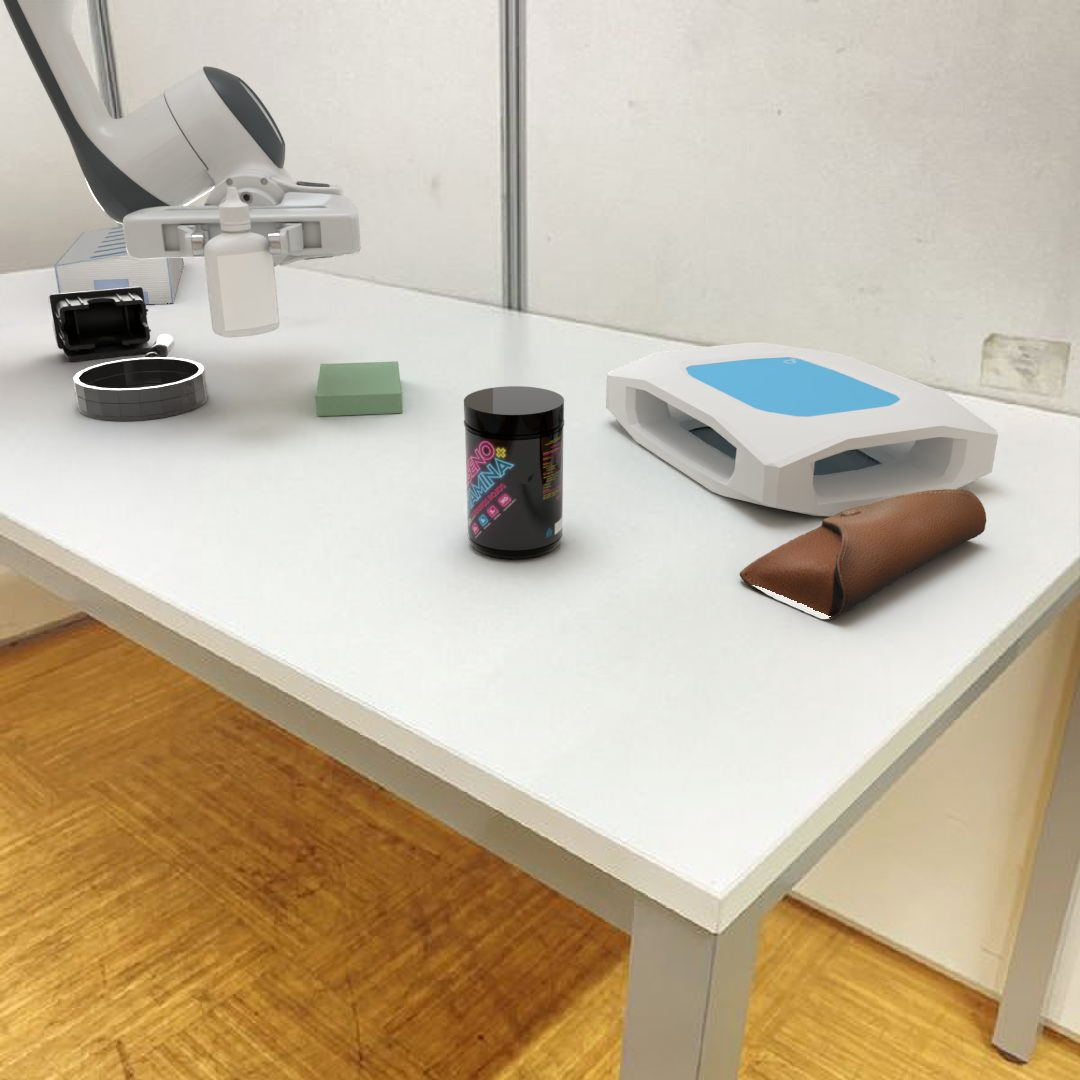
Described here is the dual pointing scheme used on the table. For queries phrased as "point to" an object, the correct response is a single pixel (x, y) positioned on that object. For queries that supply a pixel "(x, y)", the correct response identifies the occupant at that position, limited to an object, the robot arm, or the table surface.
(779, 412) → the white step platform
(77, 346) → the end cap
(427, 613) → the table surface
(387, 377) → the block
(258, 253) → the eye dropper bottle
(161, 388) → the pan
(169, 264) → the warehouse
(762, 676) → the table surface
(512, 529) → the supplement container
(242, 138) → the robot arm
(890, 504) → the sunglasses case
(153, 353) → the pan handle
